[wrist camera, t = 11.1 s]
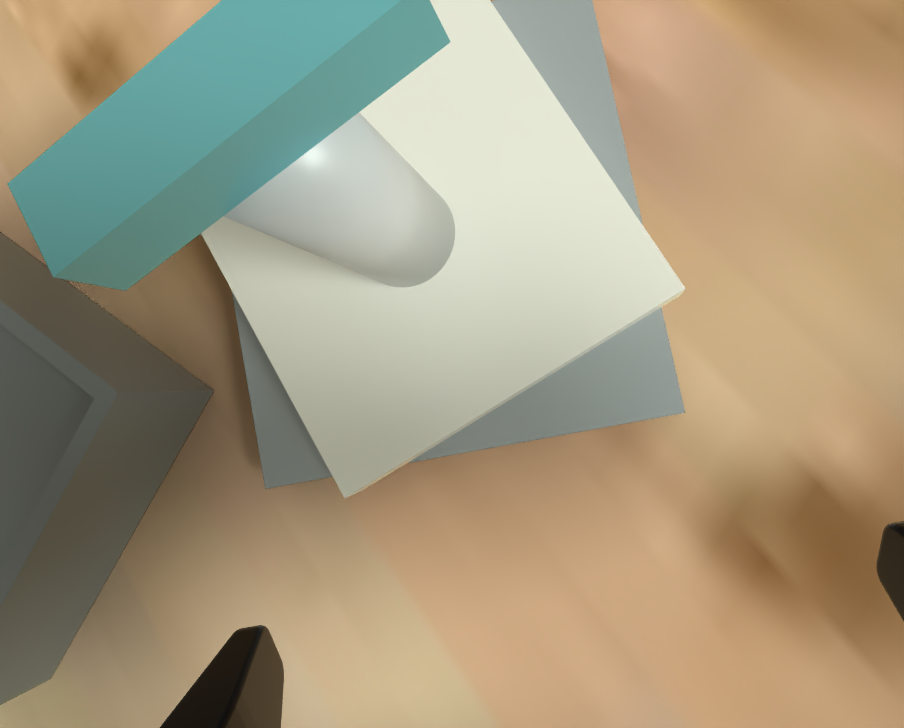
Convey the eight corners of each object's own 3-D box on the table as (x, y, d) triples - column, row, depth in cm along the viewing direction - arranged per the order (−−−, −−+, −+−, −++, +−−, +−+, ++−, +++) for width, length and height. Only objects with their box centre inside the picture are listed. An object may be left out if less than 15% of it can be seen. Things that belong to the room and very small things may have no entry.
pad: (680, 410, 19) (685, 412, 17) (288, 482, 22) (265, 488, 21) (587, -2, 20) (584, -32, 18) (226, 123, 23) (199, 106, 22)
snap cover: (681, 295, 18) (762, 172, 7) (360, 491, 20) (84, 605, 10) (475, -10, 19) (312, -447, 9) (202, 202, 22) (-173, 41, 11)
